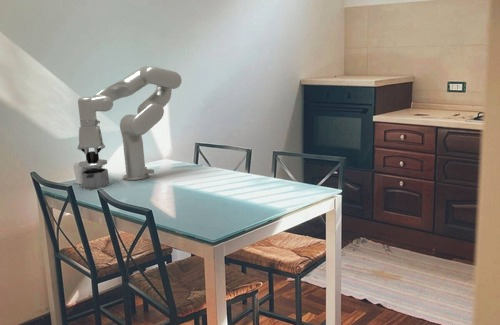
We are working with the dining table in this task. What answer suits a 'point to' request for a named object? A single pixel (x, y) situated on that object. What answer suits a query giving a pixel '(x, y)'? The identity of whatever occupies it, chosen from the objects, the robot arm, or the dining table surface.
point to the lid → (92, 162)
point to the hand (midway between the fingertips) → (92, 161)
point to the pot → (95, 178)
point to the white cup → (78, 172)
